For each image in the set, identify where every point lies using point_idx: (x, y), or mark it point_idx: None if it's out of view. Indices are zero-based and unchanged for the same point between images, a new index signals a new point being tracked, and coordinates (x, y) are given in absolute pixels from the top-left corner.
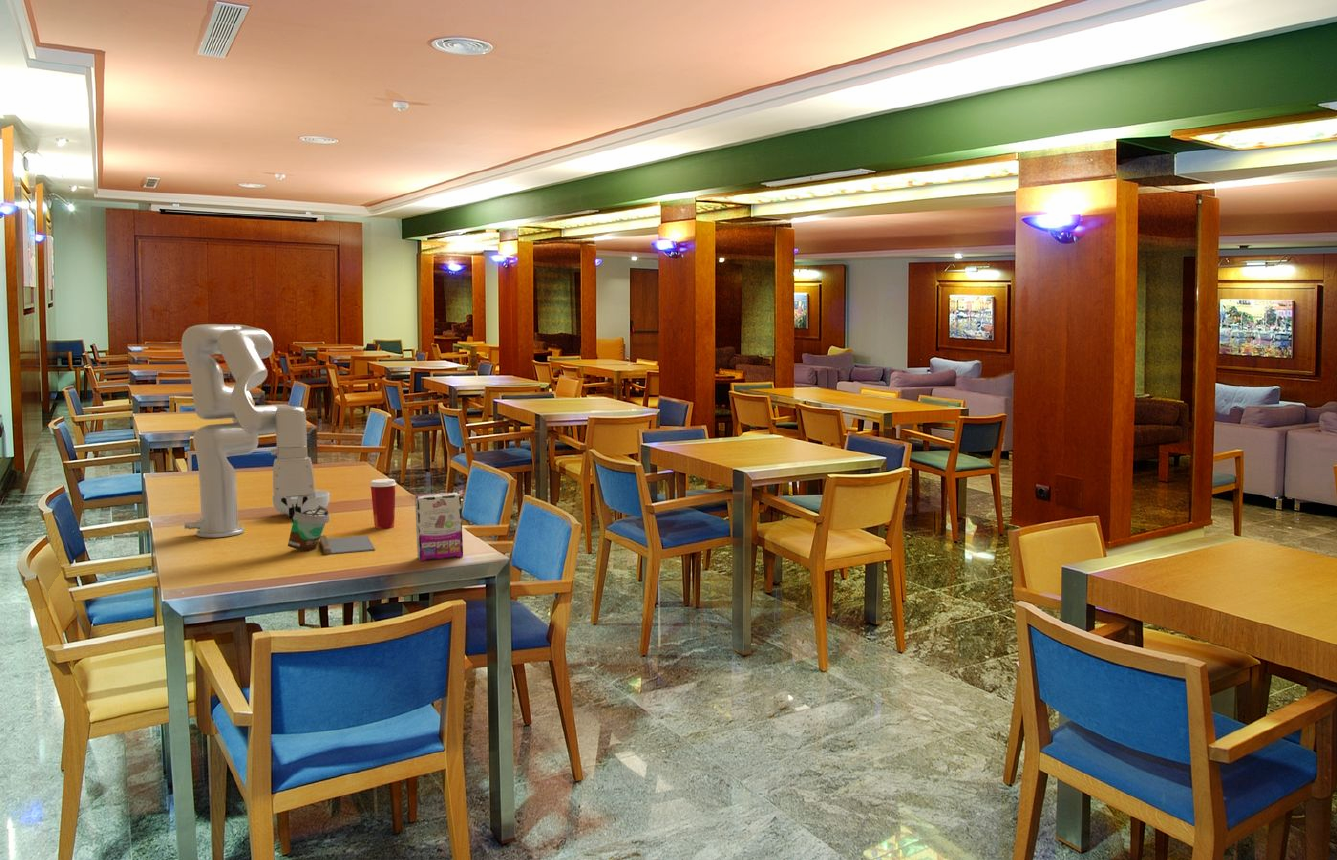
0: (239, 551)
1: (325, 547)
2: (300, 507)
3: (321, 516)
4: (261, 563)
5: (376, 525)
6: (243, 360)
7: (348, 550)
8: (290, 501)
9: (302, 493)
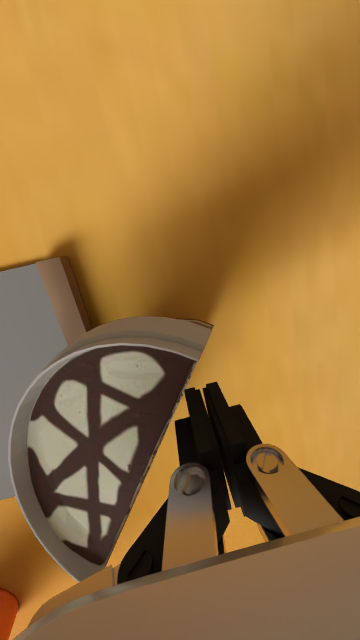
0: (354, 358)
1: (62, 288)
2: (183, 473)
3: (27, 389)
4: (275, 154)
5: (2, 603)
6: None
7: None
8: (280, 498)
9: (147, 622)
